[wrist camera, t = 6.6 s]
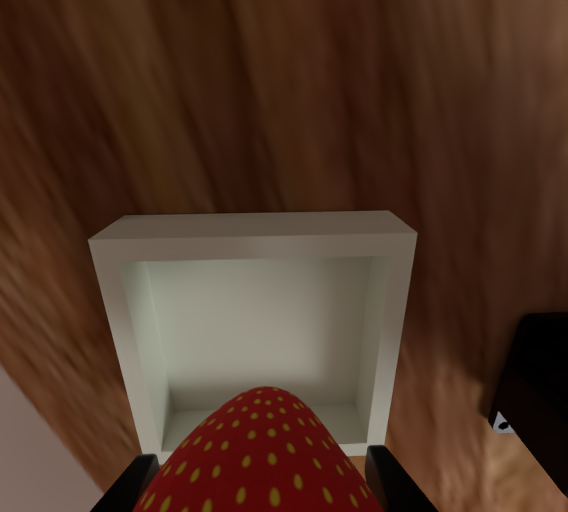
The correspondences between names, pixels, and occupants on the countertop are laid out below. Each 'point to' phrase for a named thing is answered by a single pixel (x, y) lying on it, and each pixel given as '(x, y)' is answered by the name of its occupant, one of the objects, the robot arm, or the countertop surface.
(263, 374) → the bin
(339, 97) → the countertop surface
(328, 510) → the fruit
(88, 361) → the countertop surface
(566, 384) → the robot arm
